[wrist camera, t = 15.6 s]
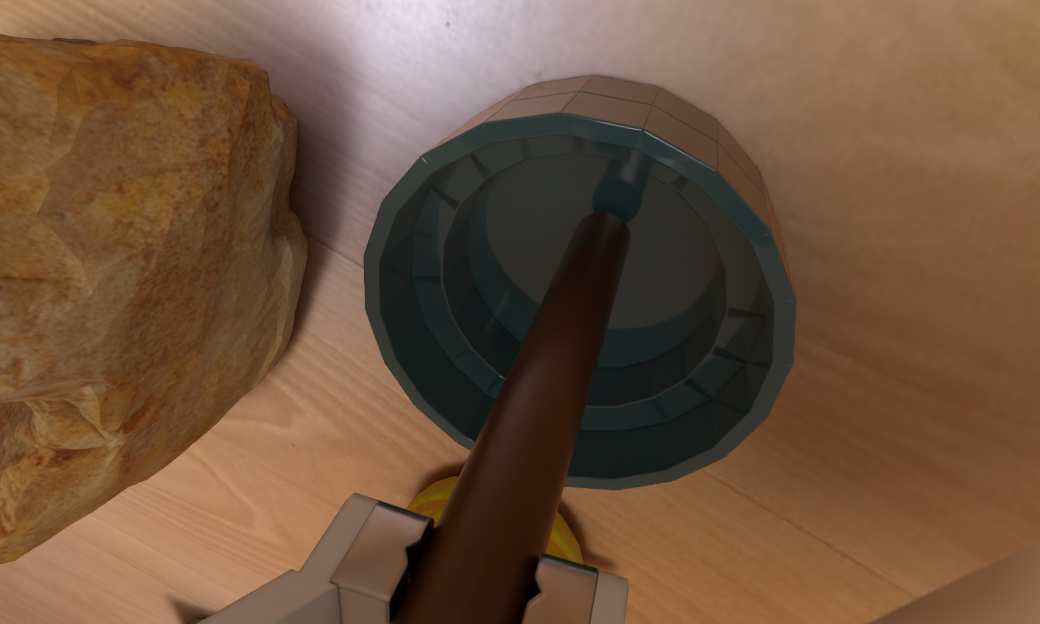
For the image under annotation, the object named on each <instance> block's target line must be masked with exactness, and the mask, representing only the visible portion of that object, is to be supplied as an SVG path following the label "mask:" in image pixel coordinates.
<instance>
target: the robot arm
mask: <svg viewBox="0 0 1040 624" xmlns="http://www.w3.org/2000/svg"><path fill="white" fill-rule="evenodd" d="M433 530H434V518H430V517H427V516H424V515H421V514H418V513H415V512H412V511H409V510H406V509H403V508H400V507H397V506H394V505H391V504H388V503H385V502H382V501H380V500H377V499H374V498H370V497H367V496H364V495H361V494H358V493H354V494H352V495H351V496H350V497H349V498H348V499H347V500H346V501H345V503H344V504H343V506H342V507H341V509H340V510H339V512H338V513H337V515H336V516H335V518H334V519H333V521H332V522H331V524H330V525H329V527H328V528H327V530H326V531H325V533H324V534H323V536H322V538H321V539H320V541H319V542H318V544H317V545H316V547H315V548H314V550H313V551H312V553H311V554H310V556H309V557H308V559H307V560H306V562H305V563H304V565H303V566H302V568H301V569H300V571H296V570H292V569H291V570H289V571H287V572H286V573H284V574H282V575H280V576H279V577H277V578H275V579H273V580H272V581H270V582H268V583H266V584H265V585H263V586H261V587H260V588H258V589H256V590H254V591H253V592H251V593H249V594H247V595H246V596H244V597H242V598H240V599H239V600H237V601H235V602H233V603H232V604H230V605H228V606H227V607H225V608H223V609H221V610H220V611H218V612H216V613H214V614H213V615H211V616H209V617H207V618H206V619H204V620H202V621H200V622H199V623H197V624H389V623H390V621H391V619H392V617H393V615H394V613H395V611H396V609H397V607H398V604H399V602H400V600H401V598H402V596H403V594H404V592H405V590H406V588H407V585H408V583H409V581H410V579H411V577H412V575H413V573H414V570H415V568H416V566H417V564H418V562H419V560H420V558H421V556H422V554H423V552H424V549H425V547H426V545H427V543H428V541H429V539H430V537H431V535H432V532H433ZM628 591H629V584H628V579H626V578H623V577H620V576H616V575H613V574H610V573H606V572H603V571H600V570H599V571H598V569H596V568H593V567H590V566H586V565H583V564H580V563H576V562H573V561H570V560H566V559H563V558H560V557H556V556H553V555H550V554H546V553H543V552H542V553H541V556H540V560H539V563H538V567H537V570H536V574H535V577H534V581H533V586H532V590H531V594H530V596H531V600H530V601H529V602H527V606H526V609H525V613H524V617H523V620H522V624H624V622H625V614H626V607H627V599H628Z"/></svg>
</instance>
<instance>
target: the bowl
mask: <svg viewBox="0 0 1040 624" xmlns="http://www.w3.org/2000/svg"><path fill="white" fill-rule="evenodd" d="M595 212H608V213H611V214H614V215H616V216H618V217H619V218H620V219H622V220H623V221H624V223H625V224H626V225H627V227H628V229H629V232H630V237H631V238H630V246H629V249H628V253H627V257H626V260H625V264H624V268H623V271H622V275H621V279H620V282H619V286H618V290H617V293H616V297H615V301H614V304H613V308H612V312H611V315H610V319H609V323H608V326H607V330H606V334H605V338H604V341H603V345H602V349H601V352H600V356H599V360H598V363H597V367H596V371H595V374H594V378H593V382H592V385H591V389H590V393H589V396H588V400H587V404H586V407H585V411H584V415H583V418H582V422H581V426H580V430H579V433H578V437H577V441H576V444H575V448H574V452H573V455H572V459H571V463H570V466H569V470H568V474H567V477H566V481H565V485H564V486H565V487H578V488H591V489H604V490H622V489H629V488H635V487H641V486H647V485H653V484H660V483H666V482H671V481H675V480H677V479H679V478H681V477H683V476H686V475H688V474H690V473H692V472H694V471H697V470H699V469H701V468H703V467H705V466H707V465H710V464H712V463H714V462H716V461H718V460H721V459H723V458H724V457H726V456H727V455H728V454H729V453H730V452H731V451H732V450H734V449H735V448H736V447H737V446H738V445H739V444H740V443H741V442H742V441H743V440H744V439H745V438H746V437H747V436H749V435H750V434H751V433H752V432H753V431H754V430H755V429H756V428H757V427H758V426H759V425H760V424H761V423H763V422H764V421H765V420H766V418H767V417H768V416H769V414H770V411H771V409H772V407H773V405H774V403H775V401H776V399H777V397H778V395H779V393H780V391H781V389H782V387H783V385H784V383H785V380H786V378H787V376H788V374H789V372H790V370H791V368H792V366H793V363H794V344H795V323H796V302H797V301H796V296H795V291H794V287H793V282H792V278H791V273H790V269H789V265H788V260H787V256H786V251H785V247H784V242H783V238H782V234H781V229H780V225H779V222H778V219H777V216H776V213H775V211H774V208H773V205H772V202H771V200H770V197H769V194H768V191H767V188H766V186H765V183H764V180H763V177H762V175H761V172H760V170H759V169H758V167H757V166H756V165H755V164H754V162H753V161H752V160H751V159H750V158H749V156H748V155H747V154H746V153H745V152H744V151H743V149H742V148H741V147H740V146H739V145H738V144H737V142H736V141H735V140H734V139H733V138H732V137H731V135H730V134H729V133H728V132H727V131H726V130H725V128H724V127H723V126H722V125H721V124H720V123H719V122H717V120H716V119H715V118H713V117H711V116H709V115H707V114H706V113H704V112H702V111H700V110H699V109H697V108H695V107H693V106H692V105H690V104H688V103H686V102H685V101H683V100H681V99H679V98H678V97H676V96H674V95H672V94H671V93H669V92H667V91H665V90H664V89H662V88H658V87H656V86H650V85H645V84H640V83H634V82H629V81H623V80H618V79H613V78H607V77H602V76H596V75H595V76H593V75H591V76H584V77H577V78H571V79H564V80H558V81H551V82H545V83H538V84H533V85H531V86H528V87H526V88H524V89H522V90H520V91H518V92H517V93H515V94H513V95H511V96H509V97H507V98H505V99H504V100H502V101H500V102H498V103H496V104H494V105H492V106H491V107H489V108H487V109H485V110H483V111H481V112H480V113H479V114H477V115H476V116H475V117H473V118H472V119H470V120H469V121H468V122H466V123H465V124H464V125H462V126H461V127H459V128H458V129H457V130H455V131H454V132H452V133H451V134H450V135H448V136H447V137H445V138H444V139H443V140H441V141H440V142H439V143H437V144H436V145H435V146H433V147H432V148H430V149H429V150H428V151H426V152H425V153H424V154H423V155H421V156H420V157H419V158H418V160H417V161H416V162H415V163H414V164H413V165H412V167H411V168H410V169H409V170H408V171H407V173H406V174H405V175H404V176H403V177H402V178H401V180H400V181H399V182H398V183H397V184H396V185H395V187H394V188H393V189H392V190H391V191H390V192H389V194H388V195H387V196H386V197H385V198H384V200H383V202H382V203H381V205H380V208H379V211H378V214H377V217H376V220H375V223H374V226H373V229H372V232H371V235H370V238H369V241H368V244H367V247H366V250H365V253H364V286H365V310H366V313H367V316H368V319H369V322H370V324H371V327H372V330H373V333H374V336H375V338H376V341H377V344H378V347H379V350H380V352H381V355H382V358H383V360H384V363H385V364H386V366H387V367H388V368H389V370H390V371H391V373H392V374H393V376H394V377H395V378H396V380H397V381H398V383H399V384H400V386H401V387H402V388H403V390H404V391H405V393H406V394H407V396H408V397H409V398H410V400H411V401H412V403H413V404H414V405H415V406H416V407H417V408H418V409H419V410H420V411H421V412H422V413H423V414H425V415H426V416H427V417H428V418H429V419H430V420H431V421H433V422H434V423H435V424H436V425H437V426H438V427H439V428H440V429H442V430H443V431H444V432H445V433H446V434H447V435H448V436H450V437H451V438H452V439H453V440H454V441H455V442H457V443H458V444H460V445H462V446H464V447H465V448H467V449H469V450H472V448H473V446H474V444H475V441H476V439H477V437H478V435H479V433H480V431H481V429H482V427H483V425H484V422H485V420H486V418H487V416H488V414H489V412H490V410H491V408H492V406H493V403H494V401H495V399H496V397H497V395H498V393H499V391H500V389H501V387H502V384H503V382H504V380H505V378H506V376H507V374H508V372H509V370H510V367H511V365H512V363H513V361H514V359H515V357H516V355H517V353H518V351H519V348H520V346H521V344H522V342H523V340H524V338H525V336H526V334H527V332H528V329H529V327H530V325H531V323H532V321H533V319H534V317H535V315H536V313H537V310H538V308H539V306H540V304H541V302H542V300H543V298H544V296H545V293H546V291H547V289H548V287H549V285H550V283H551V281H552V279H553V277H554V274H555V272H556V270H557V268H558V266H559V264H560V262H561V260H562V258H563V255H564V253H565V251H566V249H567V247H568V245H569V243H570V241H571V239H572V236H573V234H574V232H575V230H576V228H577V226H578V224H579V223H580V221H581V220H582V219H583V218H584V217H586V216H587V215H589V214H592V213H595Z"/></svg>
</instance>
